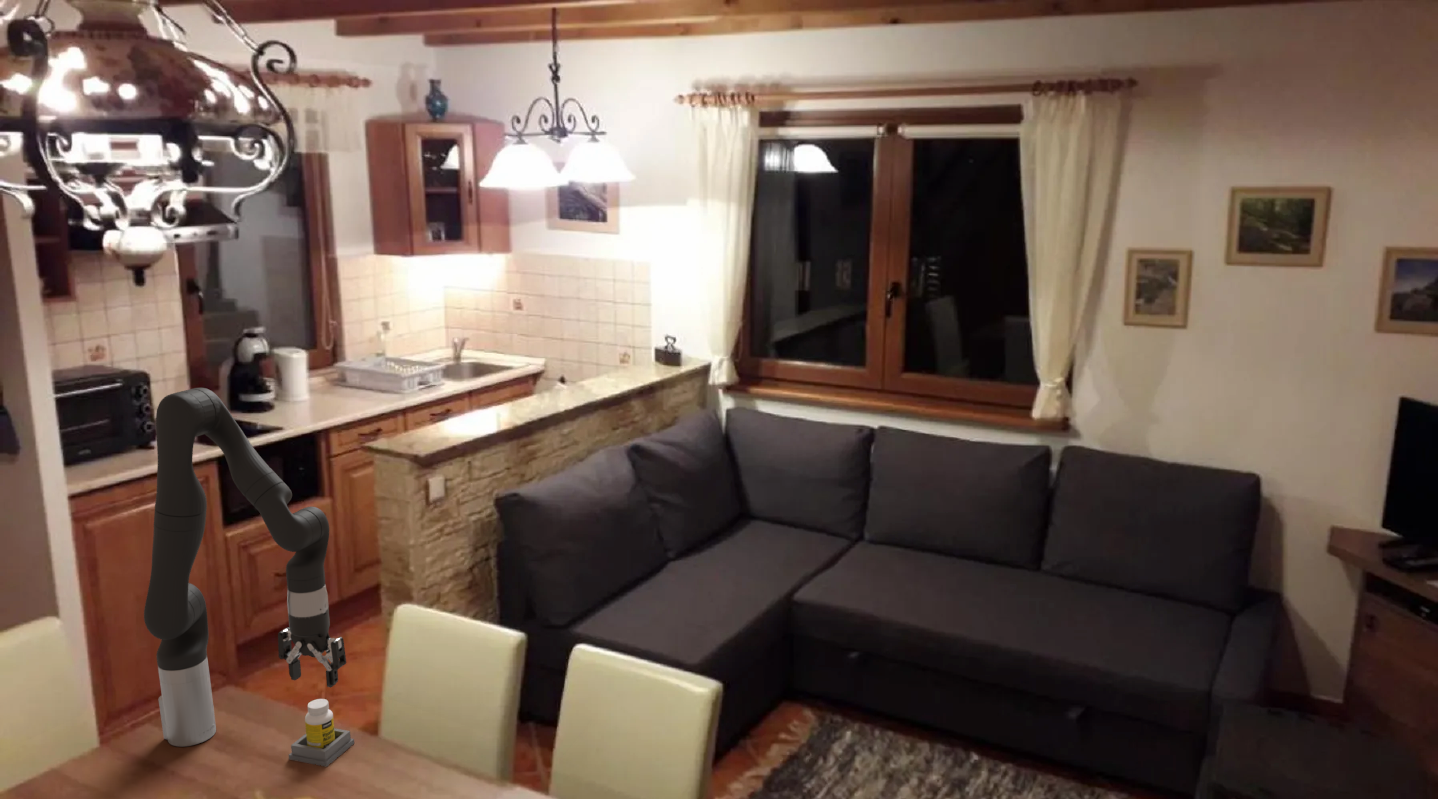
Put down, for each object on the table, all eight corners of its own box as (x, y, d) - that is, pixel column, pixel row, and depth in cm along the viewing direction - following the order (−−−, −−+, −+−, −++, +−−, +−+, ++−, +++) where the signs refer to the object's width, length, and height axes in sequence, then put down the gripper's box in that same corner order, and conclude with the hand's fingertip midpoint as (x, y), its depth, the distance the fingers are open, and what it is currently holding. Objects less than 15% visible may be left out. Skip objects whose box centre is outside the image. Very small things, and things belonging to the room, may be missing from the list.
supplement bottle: (326, 755, 216) (322, 711, 214) (302, 752, 217) (297, 708, 215) (340, 741, 221) (336, 698, 219) (317, 738, 222) (313, 695, 220)
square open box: (289, 759, 217) (287, 746, 216) (317, 736, 225) (316, 723, 224) (326, 766, 214) (325, 753, 213) (354, 743, 222) (353, 730, 222)
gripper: (265, 609, 211) (271, 684, 214) (326, 620, 206) (332, 696, 210) (290, 595, 218) (297, 668, 221) (350, 605, 213) (355, 679, 217)
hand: (314, 682), depth 216 cm, fingers open, 8 cm apart
